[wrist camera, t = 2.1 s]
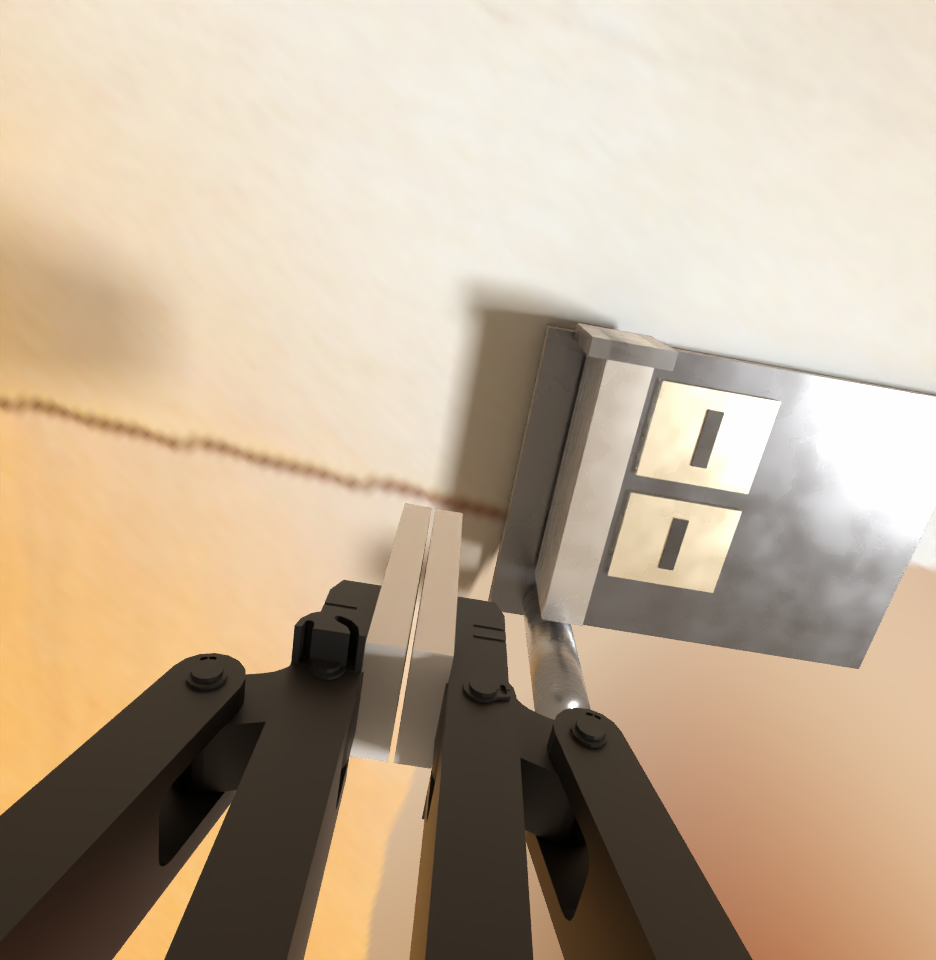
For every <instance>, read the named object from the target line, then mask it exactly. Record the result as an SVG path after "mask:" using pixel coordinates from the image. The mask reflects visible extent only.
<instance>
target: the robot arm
mask: <svg viewBox="0 0 936 960" xmlns="http://www.w3.org/2000/svg"><path fill="white" fill-rule="evenodd" d="M431 509H432V508H429V507H423V506H417V505H411V504H405V505H404V509H403V512H402V516H401V519H400V523H399V526H398V530H397V533H396V537H395V540H394V544H393V547H392V551H391V555H390V558H389V562H388V565H387V569H386V572H385V576H384V579H383V583H382V586H379V585H373V584H366V583H360V582H354V581H348V580H343V581H341V582H340V583H339V584H337V585H336V586H335V587H333V588H332V589H330V592H329V594H328V596H327V599H326V601H325V605H324V606H323V608H322V610H321V612H315V613H311V614H309V615H307V616H305V617H303V618H301V619H300V620H299V621H298V622H297V624H296V625H295V628H294V639H293V650H292V661H291V664H290V666H289V667H287V668H285V669H282V670H278V671H275V672H269V673H261V674H247V675H245V668H244V667H243V665H242V664H241V663H240V662H239V661H238V660H236V659H234V658H232V657H230V656H228V655H222V654H216V653H212V654H199V655H196V656H193V657H189V658H186V659H184V660H183V661H181V662H179V663H178V664H176V665H174V666H173V667H172V668H171V669H170V670H169V671H168V672H166V673H165V674H164V675H163V676H162V677H161V678H159V679H158V680H157V681H156V682H155V683H154V684H152V685H151V686H150V687H149V688H148V689H147V690H145V691H144V692H143V693H142V694H141V695H140V696H139V697H137V698H136V699H135V700H134V701H133V702H132V703H130V704H129V705H128V706H127V707H126V708H125V709H123V710H122V711H121V712H120V713H119V714H118V715H116V716H115V717H114V718H113V719H112V720H111V721H110V722H108V723H107V724H106V725H105V726H104V727H103V728H101V729H100V730H99V731H98V732H97V733H96V734H94V735H93V736H92V737H91V738H90V739H89V740H88V741H86V742H85V743H84V744H83V745H82V746H81V747H79V748H78V749H77V750H76V751H75V752H74V753H72V754H71V755H70V756H69V757H68V758H67V759H65V760H64V761H63V762H62V763H61V764H60V765H59V766H57V767H56V768H55V769H54V770H53V771H52V772H50V773H49V774H48V775H47V776H46V777H45V778H43V779H42V780H41V781H40V782H39V783H38V784H36V785H35V786H34V787H33V788H32V789H31V790H30V791H28V792H27V793H26V794H25V795H24V796H23V797H21V798H20V799H19V800H18V801H17V802H16V803H14V804H13V805H12V806H11V807H10V808H9V809H8V810H6V811H5V812H4V813H3V814H2V815H1V816H0V960H112V959H113V958H114V957H115V955H116V954H117V953H118V951H119V950H120V949H121V947H122V946H123V945H124V943H125V942H126V941H127V939H128V938H129V937H130V935H131V934H132V933H133V931H134V930H135V929H136V928H137V926H138V925H139V924H140V922H141V921H142V920H143V918H144V917H145V916H146V914H147V913H148V912H149V910H150V909H151V908H152V906H153V905H154V904H155V902H156V901H157V900H158V898H159V897H160V896H161V894H162V893H163V892H164V891H165V889H166V888H167V887H168V885H169V884H170V883H171V881H172V880H173V879H174V877H175V876H176V875H177V873H178V872H179V871H180V869H181V868H182V867H183V865H184V864H185V863H186V861H187V860H188V859H189V858H190V856H191V855H192V854H193V852H194V851H195V850H196V848H197V847H198V846H199V844H200V843H201V842H202V840H203V839H204V838H205V836H206V835H207V834H208V832H209V831H210V830H211V828H212V827H213V826H214V825H215V823H216V822H217V821H218V819H219V818H220V817H221V815H222V814H223V813H224V811H225V810H226V809H227V807H228V806H229V805H230V803H231V805H230V807H229V809H228V812H227V814H226V816H225V819H224V821H223V824H222V826H221V828H220V831H219V833H218V835H217V838H216V840H215V842H214V845H213V847H212V849H211V852H210V854H209V856H208V859H207V861H206V863H205V866H204V868H203V870H202V873H201V875H200V877H199V880H198V882H197V884H196V887H195V889H194V891H193V894H192V896H191V898H190V901H189V903H188V905H187V908H186V910H185V912H184V915H183V917H182V919H181V922H180V924H179V926H178V929H177V931H176V934H175V936H174V938H173V941H172V943H171V945H170V948H169V950H168V952H167V955H166V957H165V959H164V960H303V959H304V955H305V951H306V947H307V942H308V938H309V934H310V930H311V925H312V921H313V917H314V913H315V908H316V904H317V900H318V896H319V891H320V887H321V883H322V879H323V874H324V870H325V866H326V862H327V857H328V853H329V849H330V845H331V840H332V836H333V832H334V828H335V823H336V819H337V815H338V811H339V806H340V802H341V798H342V794H343V789H344V785H345V781H346V776H347V768H348V761H349V756H350V757H357V758H364V759H370V760H377V761H384V762H388V757H389V752H390V746H391V740H392V735H393V729H394V723H395V718H396V712H397V706H398V701H399V695H400V689H401V684H402V678H403V672H404V667H405V661H406V655H407V650H408V644H409V638H410V633H411V627H412V621H413V616H414V610H415V604H416V599H417V593H418V587H419V581H420V575H421V569H422V563H423V557H424V551H425V545H426V539H427V533H428V527H429V521H430V515H431ZM462 517H463V513H459V512H453V511H447V510H441V509H436V512H435V518H434V524H433V530H432V535H431V541H430V547H429V553H428V559H427V565H426V571H425V577H424V582H423V588H422V594H421V600H420V606H419V612H418V619H417V625H416V631H415V637H414V643H413V649H412V655H411V661H410V667H409V673H408V679H407V685H406V692H405V698H404V704H403V710H402V716H401V722H400V728H399V734H398V740H397V746H396V752H395V758H394V763H397V764H404V765H411V766H417V767H424V768H432V771H431V777H430V782H429V786H428V791H427V796H426V801H425V806H424V811H423V816H422V819H425V820H424V830H423V839H422V849H421V858H420V867H419V877H418V887H417V896H416V904H415V915H414V924H413V933H412V942H411V951H410V960H533V949H532V934H531V918H530V903H529V887H528V871H527V857H526V843H527V846H528V849H529V852H530V855H531V858H532V861H533V864H534V867H535V870H536V873H537V876H538V879H539V883H540V886H541V889H542V892H543V895H544V898H545V901H546V904H547V907H548V910H549V913H550V916H551V920H552V922H553V926H554V929H555V932H556V935H557V938H558V941H559V944H560V947H561V950H562V953H563V956H564V959H565V960H752V958H751V956H750V955H749V953H748V951H747V950H746V948H745V946H744V944H743V943H742V941H741V939H740V937H739V935H738V934H737V932H736V930H735V929H734V927H733V925H732V923H731V922H730V920H729V918H728V916H727V915H726V913H725V911H724V909H723V908H722V906H721V904H720V902H719V901H718V899H717V897H716V895H715V894H714V892H713V890H712V889H711V887H710V885H709V883H708V881H707V880H706V878H705V877H704V875H703V873H702V871H701V869H700V868H699V866H698V864H697V862H696V861H695V859H694V857H693V855H692V854H691V852H690V850H689V849H688V847H687V845H686V843H685V841H684V840H683V838H682V836H681V835H680V833H679V831H678V829H677V828H676V826H675V824H674V822H673V821H672V819H671V817H670V815H669V814H668V812H667V810H666V808H665V807H664V805H663V803H662V802H661V800H660V798H659V796H658V795H657V793H656V791H655V789H654V788H653V786H652V784H651V782H650V781H649V779H648V777H647V775H646V774H645V772H644V770H643V768H642V767H641V765H640V763H639V762H638V760H637V758H636V756H635V755H634V753H633V751H632V749H631V748H630V746H629V744H628V742H627V741H626V739H625V737H624V736H623V734H622V732H621V731H620V730H619V728H618V727H617V726H616V725H615V724H614V722H612V721H611V720H609V719H608V718H607V717H605V716H604V715H602V714H600V713H597V712H595V711H592V710H590V709H584V708H570V709H565V710H563V711H562V712H560V713H559V714H557V715H556V718H555V720H553V719H550V718H548V717H545V716H543V715H540V714H538V713H536V712H534V711H532V710H530V709H528V708H527V707H525V706H524V705H522V704H521V703H520V702H519V701H518V700H517V699H516V694H515V691H514V688H513V687H512V686H511V685H510V684H509V682H508V667H507V652H506V651H507V650H506V643H505V642H506V635H505V619H504V615H503V613H502V612H501V610H500V609H499V608H498V606H497V605H496V603H494V602H487V601H482V600H475V599H469V598H463V597H458V581H459V565H460V549H461V533H462ZM525 839H526V840H525Z"/></svg>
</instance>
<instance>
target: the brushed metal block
mask: <svg viewBox="0 0 936 960" xmlns="http://www.w3.org/2000/svg"><path fill="white" fill-rule="evenodd" d="M574 341H575V342H576V343H577V344H578V345H579V346H580V348H581V349H582V350H583V351H584V352H585V353H586V354H587V357H586V361H585V365H584V369H583V373H582V378H581V382H580V386H579V390H578V394H577V398H576V403H575V407H574V411H573V415H572V419H571V423H570V428H569V432H568V436H567V440H566V444H565V449H564V453H563V457H562V461H561V465H560V469H559V474H558V478H557V482H556V486H555V490H554V495H553V499H552V503H551V507H550V511H549V515H548V520H547V524H546V528H545V532H544V536H543V541H542V545H541V549H540V553H539V557H538V561H537V566H536V570H535V579H536V586H537V592H538V598H539V604H540V611H541V617H542V619H543V620H549V621H555V622H561V623H568V624H574V625H580V626H583V622H584V619H585V615H586V611H587V608H588V604H589V601H590V597H591V593H592V590H593V586H594V583H595V579H596V575H597V572H598V568H599V565H600V561H601V557H602V554H603V550H604V547H605V543H606V539H607V536H608V532H609V529H610V525H611V522H612V518H613V514H614V511H615V507H616V504H617V500H618V496H619V493H620V489H621V486H622V482H623V478H624V475H625V471H626V468H627V464H628V460H629V457H630V453H631V450H632V446H633V442H634V439H635V435H636V432H637V428H638V425H639V421H640V417H641V414H642V410H643V407H644V403H645V399H646V396H647V392H648V389H649V385H650V381H651V378H652V374H653V371H654V368H657V369H663V370H668V371H673V370H674V366H675V363H676V359H677V356H678V352H677V351H676V350H674V349H672V348H670V347H669V346H667V345H665V344H664V343H662V342H660V341H658V340H657V339H655V338H653V337H652V336H647V335H641V334H636V333H630V332H625V331H619V330H614V329H608V328H603V327H597V326H592V325H586V324H581V323H577V327H576V331H575V335H574Z"/></svg>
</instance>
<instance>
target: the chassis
mask: <svg viewBox="0 0 936 960" xmlns="http://www.w3.org/2000/svg"><path fill="white" fill-rule="evenodd" d="M575 331H576V330H572V329H567V328H561V327H556V326H550V325H547V328H546V333H545V337H544V342H543V347H542V351H541V356H540V361H539V365H538V370H537V375H536V379H535V384H534V389H533V394H532V398H531V403H530V408H529V412H528V417H527V422H526V426H525V431H524V436H523V440H522V445H521V450H520V454H519V459H518V464H517V468H516V473H515V478H514V482H513V487H512V492H511V496H510V501H509V506H508V510H507V515H506V520H505V525H504V529H503V534H502V539H501V543H500V548H499V553H498V557H497V562H496V567H495V572H494V576H493V581H492V585H491V590H490V595H489V599H488V602H494V603H496V605H497V606H498V608H499V609H500V610H501V612H507V613H514V614H520V615H524V620H525V629H526V638H527V646H528V655H529V664H530V673H531V681H532V690H533V699H534V708H535V712H536V713H538V714H540V715H543V716H545V717H548V718H550V719H553V720H555V718H556V715H557V714H559V713H560V712H562V711H563V710H565V709H570V708H584V709H590V705H589V701H588V697H587V692H586V688H585V684H584V679H583V676H582V671H581V666H580V662H579V658H578V654H577V649H576V645H575V641H574V637H573V632H572V628H571V624H568V623H561V622H555V621H549V620H543V619H542V617H541V611H540V604H539V598H538V592H537V586H536V579H535V570H536V566H537V561H538V557H539V553H540V549H541V545H542V541H543V536H544V532H545V528H546V524H547V520H548V515H549V511H550V507H551V503H552V499H553V495H554V490H555V486H556V482H557V478H558V474H559V469H560V465H561V461H562V457H563V453H564V449H565V444H566V440H567V436H568V432H569V428H570V423H571V419H572V415H573V411H574V407H575V403H576V398H577V394H578V390H579V386H580V382H581V378H582V373H583V369H584V365H585V361H586V357H587V354H586V353H585V352H584V351H583V350H582V349H581V348H580V346H579V345H578V344H577V343H576V342H575V341H574V335H575ZM670 348H672V347H670ZM672 349H674V350H676V351H677V352H678V356H677V359H676V363H675V366H674V370H673V371H668V370H663V369H657V368H654V371H653V374H652V378H651V381H650V385H649V389H648V392H647V396H646V399H645V403H644V407H643V410H642V414H641V417H640V421H639V425H638V428H637V432H636V435H635V439H634V442H633V446H632V450H631V453H630V457H629V460H628V464H627V468H626V471H625V475H624V478H623V482H622V486H621V489H620V493H619V496H618V500H617V504H616V507H615V511H614V514H613V518H612V522H611V525H610V529H609V532H608V536H607V539H606V543H605V547H604V550H603V554H602V557H601V561H600V565H599V568H598V572H597V575H596V579H595V583H594V586H593V590H592V593H591V597H590V601H589V604H588V608H587V611H586V615H585V619H584V622H583V625H588V626H595V627H600V628H607V629H613V630H619V631H625V632H632V633H638V634H644V635H650V636H657V637H663V638H669V639H675V640H681V641H687V642H694V643H700V644H706V645H712V646H719V647H725V648H731V649H738V650H743V651H750V652H756V653H763V654H768V655H775V656H781V657H787V658H793V659H800V660H806V661H812V662H818V663H825V664H831V665H837V666H843V667H850V668H856V669H859V667H860V665H861V663H862V661H863V659H864V657H865V655H866V652H867V650H868V648H869V646H870V644H871V642H872V640H873V637H874V635H875V633H876V631H877V629H878V627H879V625H880V623H881V621H882V618H883V616H884V614H885V612H886V610H887V608H888V606H889V604H890V601H891V599H892V597H893V595H894V593H895V591H896V589H897V586H898V584H899V582H900V580H901V578H902V576H903V574H904V571H905V570H906V567H907V565H908V563H909V561H910V559H911V557H912V555H913V553H914V550H915V548H916V546H917V544H918V542H919V540H920V538H921V536H922V533H923V531H924V529H925V527H926V525H927V523H928V521H929V519H930V516H931V514H932V512H933V510H934V508H935V506H936V395H931V394H925V393H920V392H914V391H909V390H903V389H898V388H892V387H887V386H881V385H876V384H870V383H865V382H859V381H854V380H848V379H843V378H837V377H832V376H826V375H821V374H815V373H810V372H804V371H798V370H793V369H787V368H782V367H776V366H771V365H765V364H760V363H754V362H749V361H743V360H738V359H732V358H727V357H721V356H716V355H710V354H705V353H699V352H694V351H688V350H683V349H677V348H672Z"/></svg>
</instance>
